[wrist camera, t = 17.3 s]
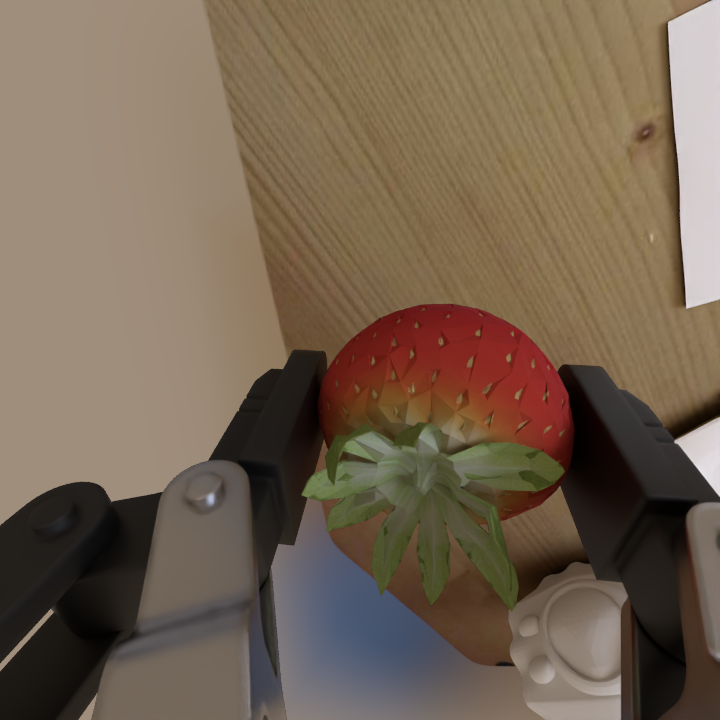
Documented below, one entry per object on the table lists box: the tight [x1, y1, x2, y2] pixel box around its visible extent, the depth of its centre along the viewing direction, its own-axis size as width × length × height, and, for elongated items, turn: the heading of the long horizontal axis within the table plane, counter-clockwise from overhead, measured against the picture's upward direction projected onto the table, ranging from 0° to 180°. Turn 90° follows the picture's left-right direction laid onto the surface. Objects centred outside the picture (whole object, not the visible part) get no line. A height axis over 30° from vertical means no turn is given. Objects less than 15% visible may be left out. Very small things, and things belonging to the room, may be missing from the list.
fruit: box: [302, 304, 575, 611], centre depth 9 cm, size 5×5×8 cm
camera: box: [508, 562, 628, 720], centre depth 36 cm, size 11×18×16 cm, turn 134°
